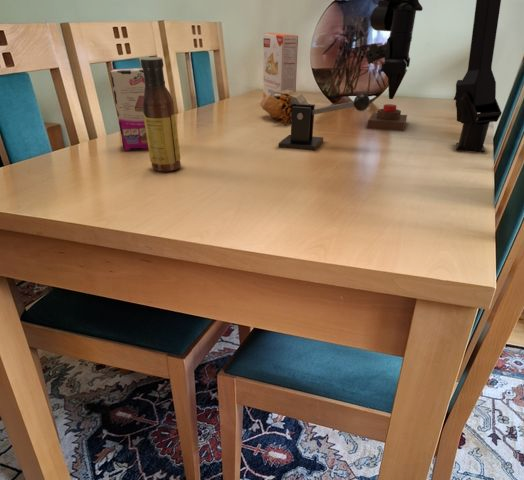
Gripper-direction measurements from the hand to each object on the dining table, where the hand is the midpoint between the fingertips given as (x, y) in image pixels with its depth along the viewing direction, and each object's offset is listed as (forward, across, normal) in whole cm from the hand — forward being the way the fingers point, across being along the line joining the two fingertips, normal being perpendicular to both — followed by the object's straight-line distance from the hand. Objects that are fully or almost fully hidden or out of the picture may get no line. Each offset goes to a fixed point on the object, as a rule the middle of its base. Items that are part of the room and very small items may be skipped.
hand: (390, 98), depth 131 cm
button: (+3, 0, 0) cm, 3 cm away
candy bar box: (+7, +47, -53) cm, 71 cm away
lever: (0, +32, -11) cm, 34 cm away
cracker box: (+7, -20, -39) cm, 44 cm away
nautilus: (+7, +4, -31) cm, 32 cm away
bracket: (+7, +32, -18) cm, 37 cm away
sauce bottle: (+7, +62, -40) cm, 74 cm away
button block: (+7, 0, 0) cm, 7 cm away
